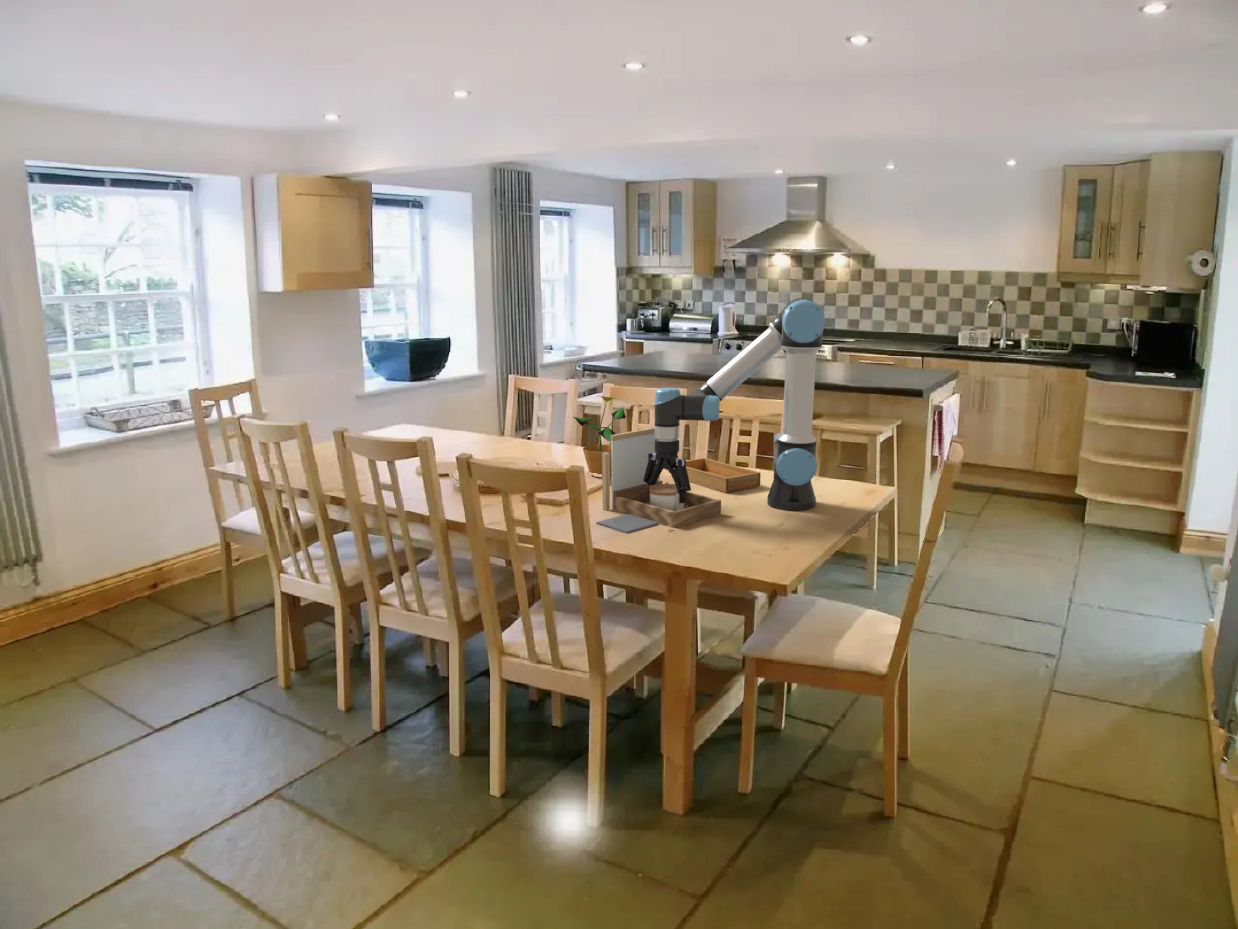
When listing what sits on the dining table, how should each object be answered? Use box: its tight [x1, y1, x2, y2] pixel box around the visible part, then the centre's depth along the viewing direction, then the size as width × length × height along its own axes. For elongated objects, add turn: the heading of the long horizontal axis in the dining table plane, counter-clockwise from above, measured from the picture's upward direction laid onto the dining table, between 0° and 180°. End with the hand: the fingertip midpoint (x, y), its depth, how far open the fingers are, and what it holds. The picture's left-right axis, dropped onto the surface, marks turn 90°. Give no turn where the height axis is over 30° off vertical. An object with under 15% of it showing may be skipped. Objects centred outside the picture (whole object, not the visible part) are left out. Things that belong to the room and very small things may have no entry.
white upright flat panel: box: [601, 426, 661, 511], centre depth 293 cm, size 3×22×24 cm, turn 133°
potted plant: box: [573, 395, 627, 474], centre depth 331 cm, size 18×19×30 cm
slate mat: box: [596, 513, 659, 534], centre depth 274 cm, size 13×13×1 cm
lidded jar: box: [649, 482, 682, 511], centre depth 285 cm, size 11×11×9 cm
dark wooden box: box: [612, 480, 722, 529], centre depth 285 cm, size 26×20×6 cm
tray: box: [670, 457, 762, 494], centre depth 323 cm, size 31×15×6 cm, turn 33°
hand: (666, 509), depth 286 cm, fingers closed on lidded jar, 11 cm apart
